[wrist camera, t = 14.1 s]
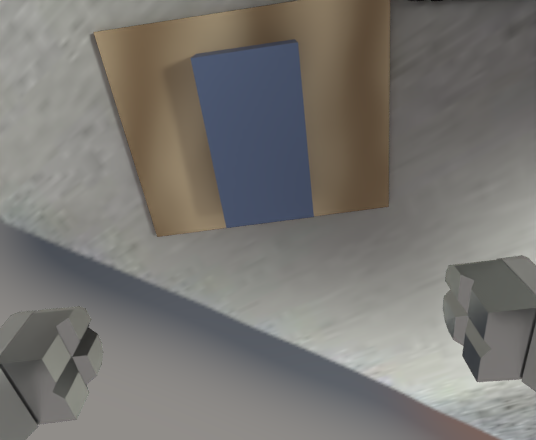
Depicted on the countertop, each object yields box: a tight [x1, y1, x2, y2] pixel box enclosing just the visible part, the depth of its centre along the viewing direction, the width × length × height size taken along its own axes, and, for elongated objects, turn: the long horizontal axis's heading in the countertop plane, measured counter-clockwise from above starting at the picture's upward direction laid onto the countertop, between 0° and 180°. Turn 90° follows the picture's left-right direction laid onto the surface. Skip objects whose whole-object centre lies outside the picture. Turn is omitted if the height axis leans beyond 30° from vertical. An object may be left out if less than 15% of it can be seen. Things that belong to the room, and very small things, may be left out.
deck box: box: [191, 39, 314, 228], centre depth 23 cm, size 6×2×10 cm
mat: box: [94, 0, 390, 237], centre depth 24 cm, size 16×13×1 cm
